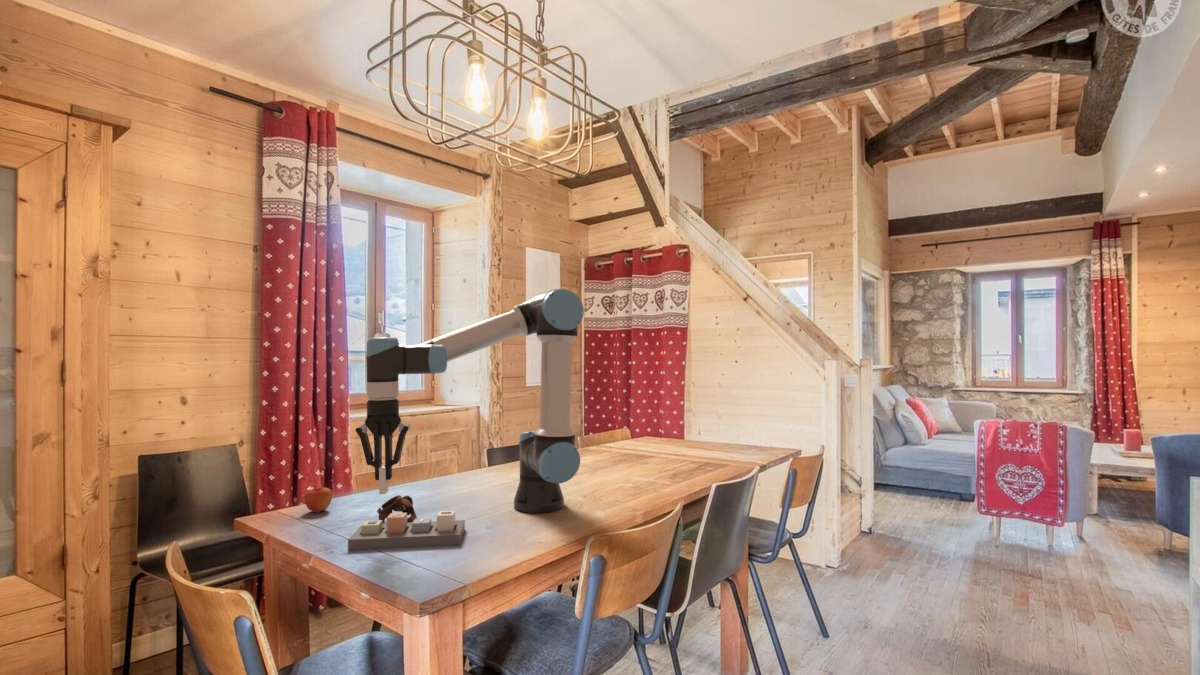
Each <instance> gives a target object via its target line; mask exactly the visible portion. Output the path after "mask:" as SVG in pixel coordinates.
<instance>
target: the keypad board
mask: <svg viewBox="0 0 1200 675" xmlns="http://www.w3.org/2000/svg"><path fill="white" fill-rule="evenodd" d="M412 523H413V522H407V529H406V531H405V532H404V533H387V523H383V531H382V532H381V533H380V534H363V535H362V525H363V524H361V525H360V527H359V528H357V530H356V531H355V532H354V533H352V534H351V536H350V537H349V538H348V539H347V551H358V550H362V551H363V550H380V549H381V550H382V549H400V548H401V549H402V548H403V549H404V548H425V547H426V548H427V547H443V546H444V547H445V546H461V542H462V538H463V535H464V533H465V530H466V529H465V528H466V525H465V524H466V520H464V519H463V520H455V528H454V530H453V531H437V520H436V521H431V531H430V532H412Z"/></svg>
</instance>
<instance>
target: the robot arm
mask: <svg viewBox="0 0 1200 675" xmlns="http://www.w3.org/2000/svg"><path fill="white" fill-rule="evenodd" d="M584 312H585V311H584V305H583V301H582V300H581V299H580V297H579V296H578V294H576V293H575V292H574V291H572V290H570V289H566V288H553V289H551V290H549V291H546V292H541V293H540V294H538V295H536V296H535V295H534V297H532V298H530V299H527V300H526V301H524V302H522V303H519V304H517V305H514V306H513V307H512V308H511V311H507V312H505V313H502V314H500V315H496V316H494V317H491V318H489V319H486V320H482V321H479V322H476V323H474V324H471V325H468V326H465V327H462V328H460V329H457V330H455V331H451V332H449V333H446V334H443V335H441V336H438V337H435V338H432V339H430V340H427V341H424V342H421V343H418V344H410V345H409V344H407V345H406V344H400V343H399V339H398V338H397V337H388V336H387V337H370V338H369V339H368V340H367V341H366V353H365V354H366V358H365V361H366V362H365V363H366V397H367V399H368V400H367V401H366V419H365V420H364V423H363V424H362V425H360V426H358V427H356V428H355V432H356V434H357V435H358V437H359V439H360V442H361V446H362V449H363V453H364V458H365V463H366V465H368V466H372V467H373V468H374V479H375V481H378V487H379V488H378V491H379V492H378V493H379V495H386V494H388V492H389V480H391V479H392V477H393V466H394V465H398V463H399V462H400V461H401V456H402V453H403V447H404V443H405V439H406V436H407V433H408V432H409V431H410V429H411V426H410V425H409V424H406V423H404V422H402V418H401V417H400V415H399V414H400V405H399V402H400V401H399V399H398V397H399V393H400V392H399V390H400V389H399V375H422V374H425V375H426V374H432V375H435V374H442V373H445V372H446V371H447V368H448V367H447V366H448V362H450V361H453V360H456V359H459V358H461V357H464V356H467V355H470V354H472V353H474V352H478V351H480V350H482V349H486V348H488V347H491V346H494V345H496V344H499V343H501V342H504V341H507V340H510V339H512V338H515V337H518V336H522V337H528V336H530V335H533V334H536V338H537V339H538V340H539V341H540V342H541V355H540V356H541V360H540V361H541V362H540V365H541V367H540V395H539V396H540V398H539V399H540V400H539V402H540V403H539V404H540V406H539V427H538V428H537V429H536V430H531V431H522V432H521V433H520V434H519V435H520V436H519V442H518V445H519V482H518V485H517V488H516V489H517V490H516V491H515V495H514V498H513V509H515V510H516V511H519V512H522V513H529V514H531V513H533V514H539V513H543V514H544V513H551V512H557V511H559V510H561V509H562V508H564V506H565V497H564V495H563V491H562V488H561V486H560V484H564V483H567V482H568V481H570V480H571V479H573V477H574V476H575V475H576V474H577V472H578V471H579V469H580V466H581V455H580V452H579V450H578V449H577V447H576V433H575V431H574V430H573V429H572V428H571V403H572V402H571V398H572V397H571V396H572V359H573V358H572V356H573V355H572V352H573V345H572V344H573V343H574V341H575V340H577V338H578V327H579V324H580V323H581V322H582V320H583V318H584ZM397 429H398V432H399V434H398V437H397V442H396V446H395V450H394V453H393V435H394V433H395V431H396V430H397ZM368 430H369V431H370V433H371V434H372V435H373V442H374V443H373V450H374V451H373V450H372V447H371V446H372V445H371V443H370V442H371V441H370V438H369V436H368ZM383 437H384V438H383ZM382 438H383V439H384V465H383V459H382V458H383V457H382V455H383V454H382V453H383V452H382V449H383V448H382V445H383V444H382ZM373 452H374V454H373Z"/></svg>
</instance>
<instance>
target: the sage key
mask: <svg viewBox="0 0 1200 675" xmlns="http://www.w3.org/2000/svg"><path fill="white" fill-rule="evenodd" d="M383 524H384V522H383V520H379V519H378V520H377V519H376V520H374V519H373V520H366V521H364V523H362V524H361V525H362V535H363V534H380V533H381V532H382V531H383Z"/></svg>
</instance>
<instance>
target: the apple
mask: <svg viewBox="0 0 1200 675" xmlns="http://www.w3.org/2000/svg"><path fill="white" fill-rule="evenodd" d="M332 499H333V492H332V490H331V489H330V488H328V487H321V486H320V487H316V485H314V488H311V489H309V490H307V491H306V492H305V495H304V504H305V506H306V508H307V509H308V510H310V511H311V512H313V513H317V514H318V513H321V512H324V511H326V510H327V509H328V508H329V506H330V504H331V502H332Z"/></svg>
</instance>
